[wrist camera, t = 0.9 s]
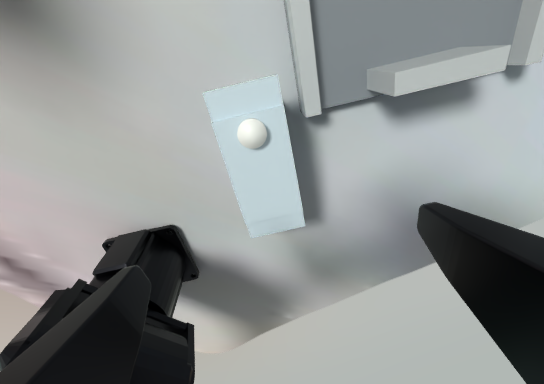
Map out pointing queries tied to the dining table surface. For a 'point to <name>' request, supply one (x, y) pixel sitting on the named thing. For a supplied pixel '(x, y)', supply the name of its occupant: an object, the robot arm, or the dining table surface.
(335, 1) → the mounting plate
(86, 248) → the dining table surface
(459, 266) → the robot arm
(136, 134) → the dining table surface
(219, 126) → the light blue knobbed block
